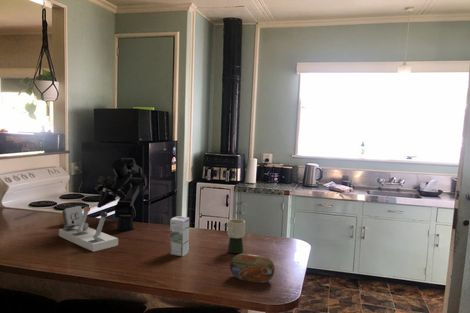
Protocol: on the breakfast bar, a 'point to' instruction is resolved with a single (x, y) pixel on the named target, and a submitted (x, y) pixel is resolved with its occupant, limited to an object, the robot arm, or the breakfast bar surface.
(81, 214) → the electrical switch
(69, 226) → the block
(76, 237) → the control panel
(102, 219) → the lever
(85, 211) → the copper ball joystick
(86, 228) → the push button
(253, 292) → the breakfast bar surface
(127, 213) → the robot arm
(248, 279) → the tin
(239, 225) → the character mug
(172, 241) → the syrup box
